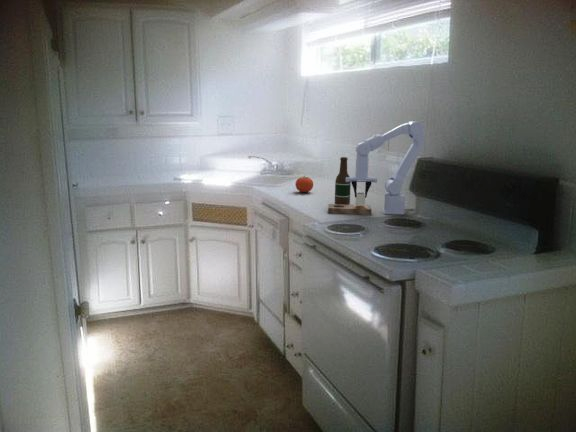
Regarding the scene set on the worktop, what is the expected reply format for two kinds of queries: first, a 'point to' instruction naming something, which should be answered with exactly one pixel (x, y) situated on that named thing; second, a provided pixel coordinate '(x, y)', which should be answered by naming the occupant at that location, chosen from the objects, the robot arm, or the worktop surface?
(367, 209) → the brown wooden flat block
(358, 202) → the plug
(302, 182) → the tomato
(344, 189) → the beer bottle
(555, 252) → the worktop surface
